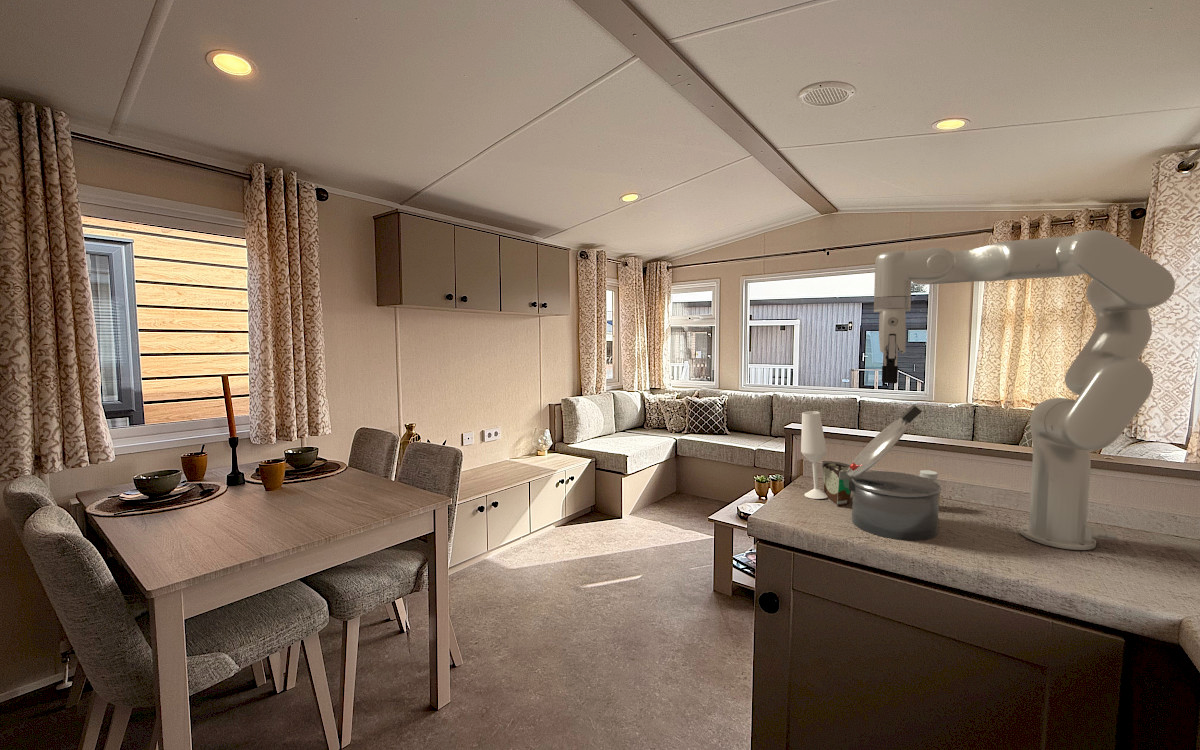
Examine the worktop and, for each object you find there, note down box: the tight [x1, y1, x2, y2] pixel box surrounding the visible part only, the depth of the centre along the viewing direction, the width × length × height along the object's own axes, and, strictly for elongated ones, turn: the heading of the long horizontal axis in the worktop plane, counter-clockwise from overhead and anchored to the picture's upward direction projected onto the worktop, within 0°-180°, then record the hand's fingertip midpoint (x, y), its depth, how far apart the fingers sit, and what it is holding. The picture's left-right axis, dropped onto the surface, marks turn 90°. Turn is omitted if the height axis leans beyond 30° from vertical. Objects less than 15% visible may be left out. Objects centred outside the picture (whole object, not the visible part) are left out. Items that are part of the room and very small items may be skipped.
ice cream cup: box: [821, 460, 852, 508], centre depth 141 cm, size 12×6×10 cm, turn 178°
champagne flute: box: [800, 410, 827, 500], centre depth 146 cm, size 7×7×24 cm
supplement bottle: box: [919, 469, 941, 503], centre depth 135 cm, size 5×5×10 cm
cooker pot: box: [849, 470, 942, 542], centre depth 123 cm, size 19×19×11 cm
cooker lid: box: [847, 404, 922, 478], centre depth 123 cm, size 22×19×2 cm
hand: (889, 382), depth 121 cm, fingers closed
